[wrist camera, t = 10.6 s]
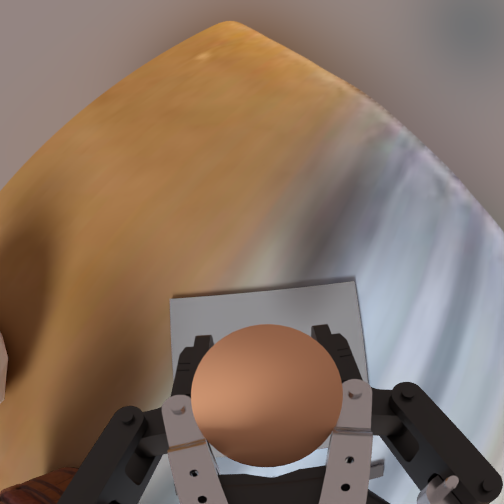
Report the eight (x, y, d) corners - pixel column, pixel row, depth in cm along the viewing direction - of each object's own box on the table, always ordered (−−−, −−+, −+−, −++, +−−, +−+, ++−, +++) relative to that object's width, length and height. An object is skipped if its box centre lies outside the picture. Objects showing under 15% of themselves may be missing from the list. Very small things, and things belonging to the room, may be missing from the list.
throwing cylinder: (301, 338, 18) (334, 316, 9) (308, 412, 16) (346, 456, 8) (224, 344, 18) (186, 329, 9) (230, 419, 16) (198, 468, 8)
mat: (363, 280, 26) (365, 279, 26) (381, 474, 20) (383, 476, 20) (160, 300, 27) (159, 299, 26) (177, 493, 20) (176, 495, 20)
